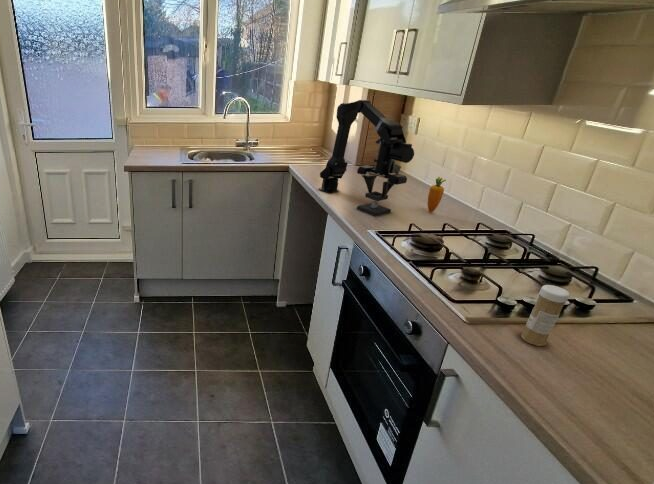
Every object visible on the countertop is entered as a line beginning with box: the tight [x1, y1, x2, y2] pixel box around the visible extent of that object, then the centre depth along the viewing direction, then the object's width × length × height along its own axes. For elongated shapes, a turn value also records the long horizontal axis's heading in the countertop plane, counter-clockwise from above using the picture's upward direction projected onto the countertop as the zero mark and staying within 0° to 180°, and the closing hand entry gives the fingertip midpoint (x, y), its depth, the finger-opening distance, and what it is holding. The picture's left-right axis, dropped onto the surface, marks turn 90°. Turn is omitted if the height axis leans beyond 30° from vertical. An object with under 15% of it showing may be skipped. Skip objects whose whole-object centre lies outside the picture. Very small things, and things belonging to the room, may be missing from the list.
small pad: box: [364, 191, 389, 202], centre depth 167 cm, size 6×6×2 cm
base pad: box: [356, 200, 392, 217], centre depth 169 cm, size 9×9×4 cm
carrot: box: [427, 176, 447, 214], centre depth 165 cm, size 5×5×15 cm
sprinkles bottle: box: [520, 284, 570, 347], centre depth 91 cm, size 5×5×13 cm
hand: (376, 195), depth 167 cm, fingers closed on small pad, 6 cm apart
